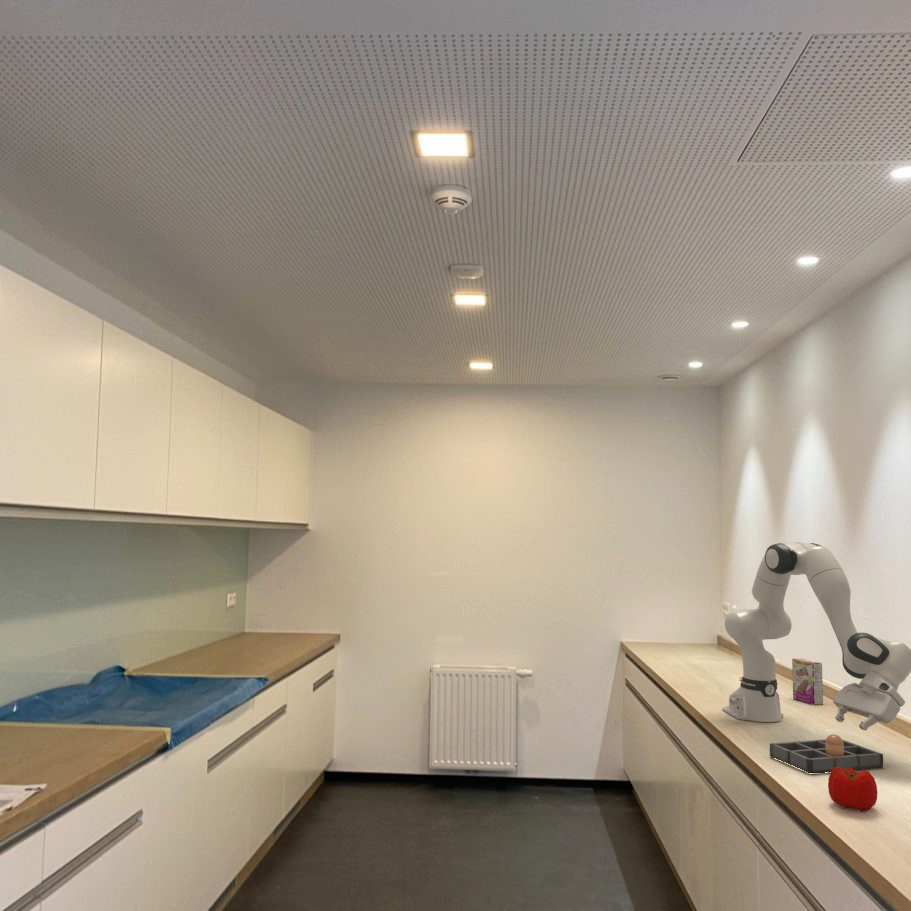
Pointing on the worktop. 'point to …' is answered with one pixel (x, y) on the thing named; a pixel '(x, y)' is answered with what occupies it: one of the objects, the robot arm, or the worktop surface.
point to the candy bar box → (807, 681)
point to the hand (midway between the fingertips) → (849, 724)
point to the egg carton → (825, 756)
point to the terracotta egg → (834, 745)
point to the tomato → (852, 788)
